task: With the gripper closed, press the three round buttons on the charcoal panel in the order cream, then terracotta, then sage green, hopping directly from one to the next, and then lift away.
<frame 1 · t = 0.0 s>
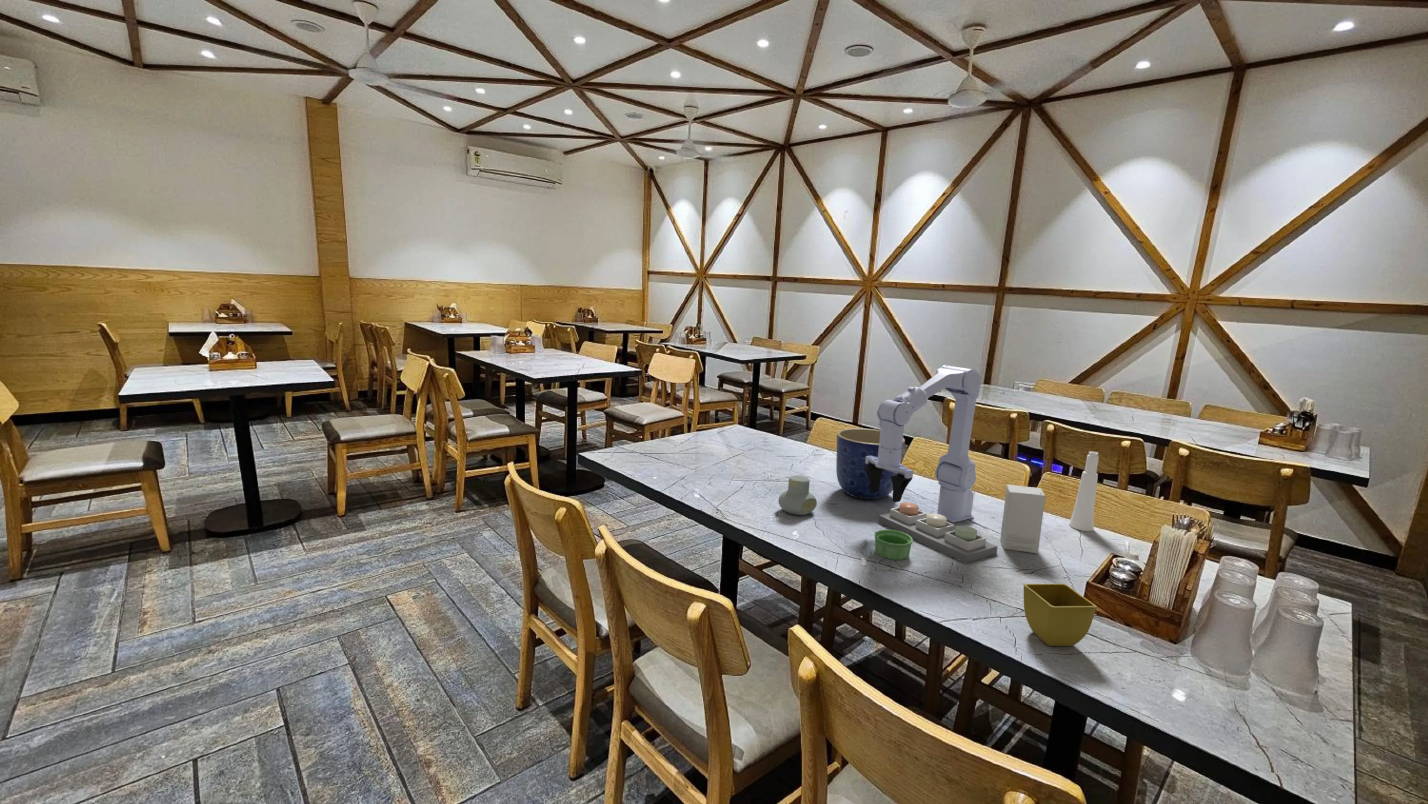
hand: (885, 496, 154), 10 cm above the table, tool pointing down, fingers open, 7 cm apart
cosmetic bottle: (1081, 527, 166), on the table
button panel: (933, 536, 154), on the table
ramekin: (891, 554, 144), on the table
flower pot: (1051, 639, 109), on the table
air freshener: (796, 512, 168), on the table
sage button: (965, 533, 146), point 4 cm above the table, slide at 0.0 cm
cream button: (935, 521, 154), point 4 cm above the table, slide at 0.0 cm
skincare box: (1017, 547, 150), on the table
planter: (864, 494, 186), on the table
terracotta button: (908, 509, 161), point 4 cm above the table, slide at 0.0 cm
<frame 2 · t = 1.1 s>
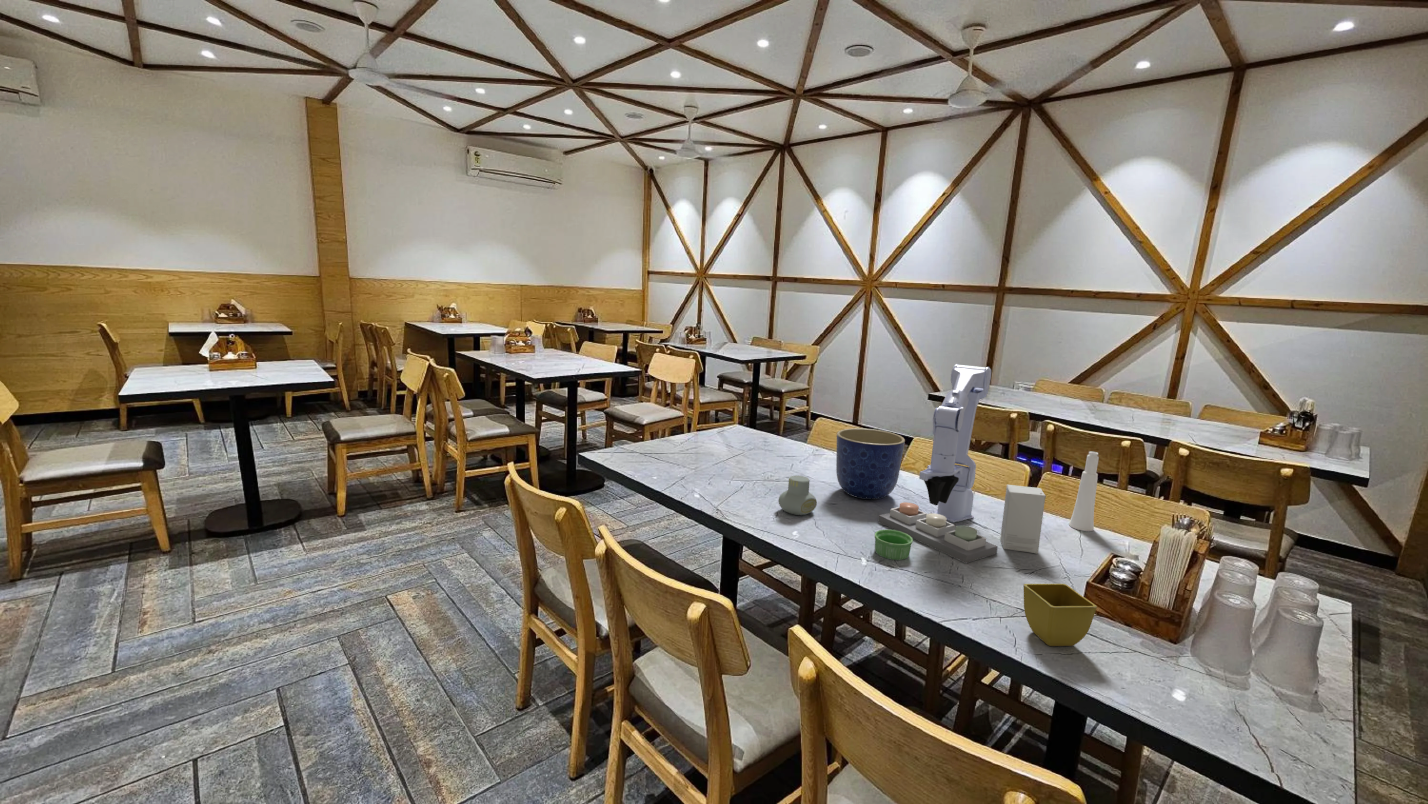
hand: (937, 503, 153), 9 cm above the table, tool pointing down, fingers open, 3 cm apart
nothing on the table moved.
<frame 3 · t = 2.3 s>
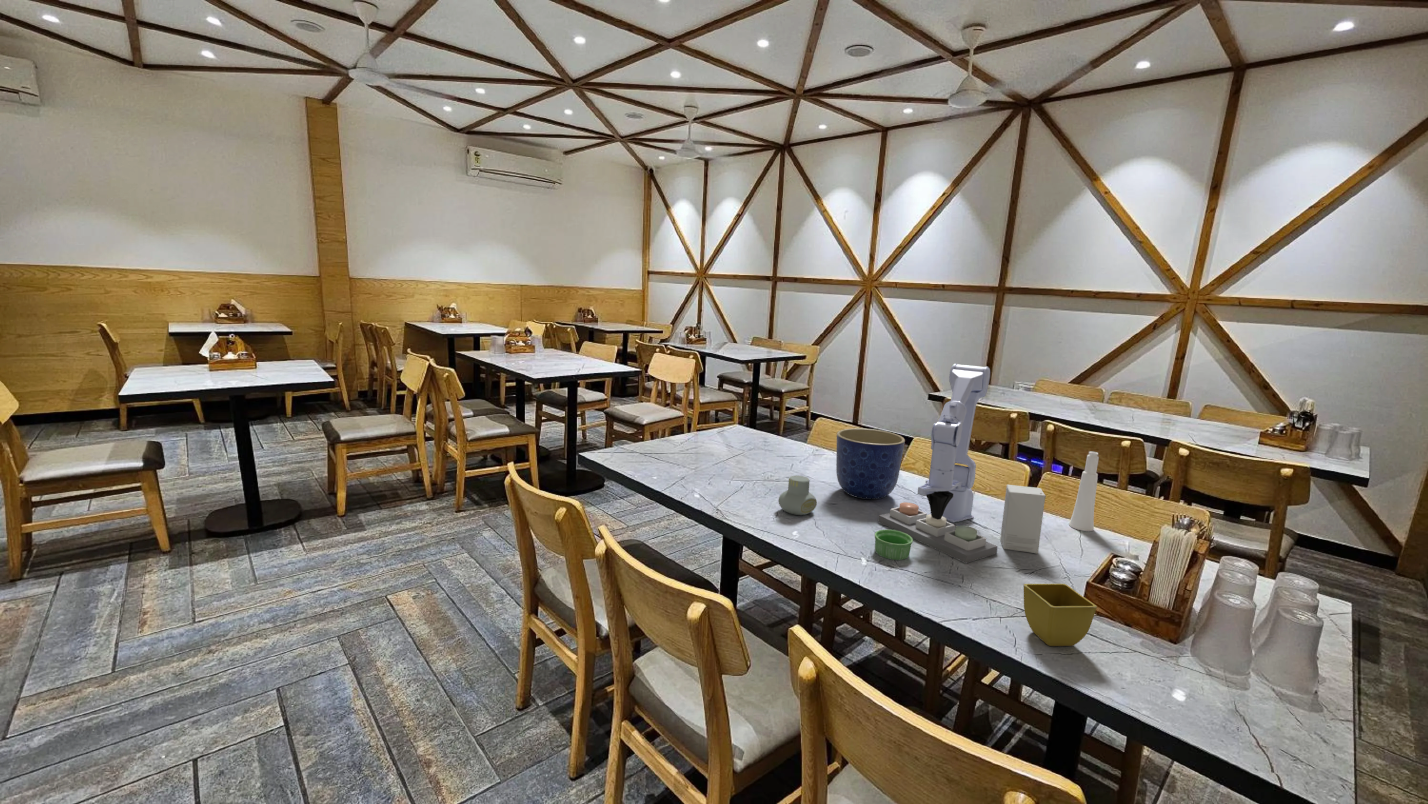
hand: (936, 517, 153), 5 cm above the table, tool pointing down, fingers closed, pressing on cream button
cream button: (935, 521, 154), point 4 cm above the table, slide at 0.2 cm, touching gripper
everything else where it was.
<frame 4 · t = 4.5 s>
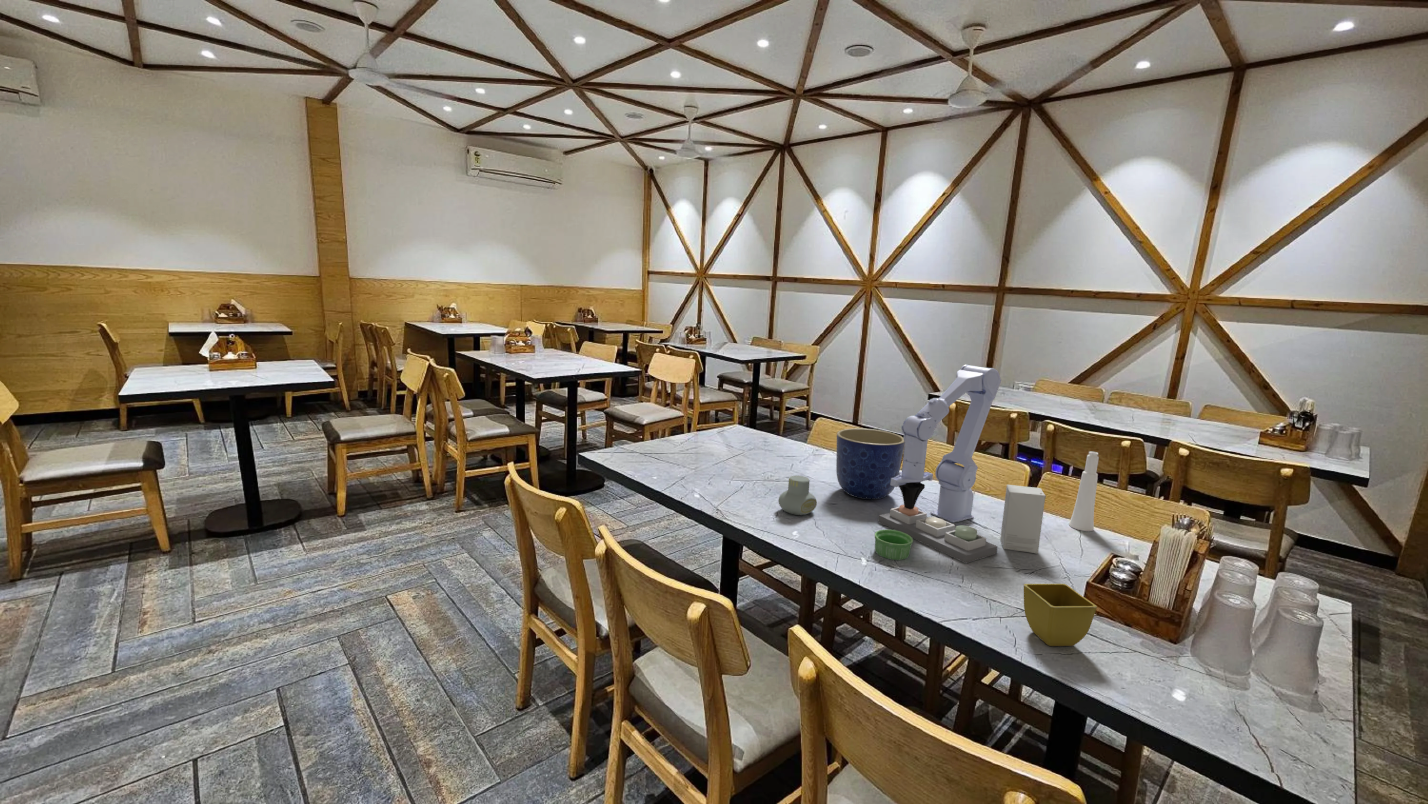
hand: (908, 507, 161), 5 cm above the table, tool pointing down, fingers closed, pressing on terracotta button
cream button: (935, 525, 154), point 3 cm above the table, slide at 1.1 cm
terracotta button: (908, 511, 161), point 4 cm above the table, slide at 0.6 cm, touching gripper
everything else where it was.
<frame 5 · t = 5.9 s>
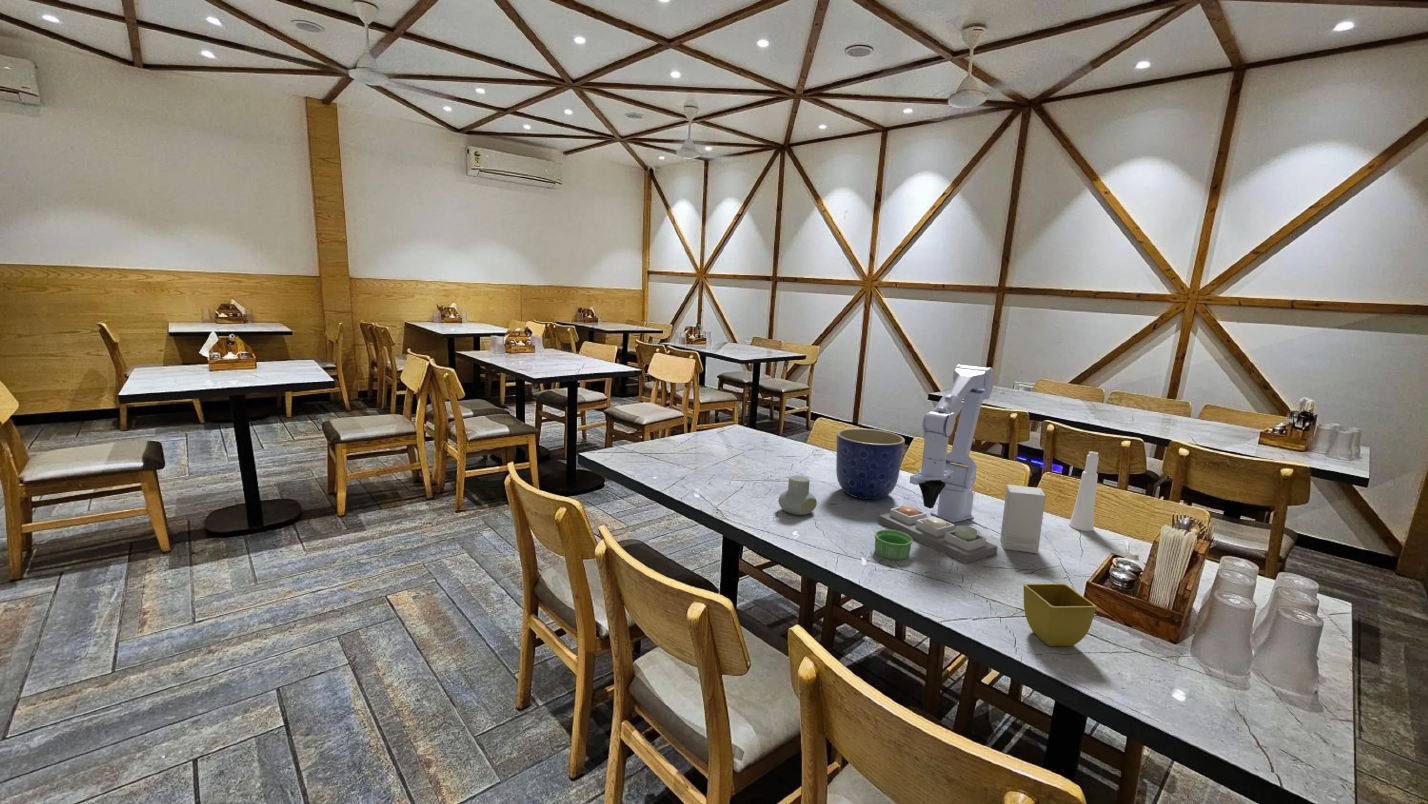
hand: (928, 506, 155), 7 cm above the table, tool pointing down, fingers closed
terracotta button: (908, 513, 161), point 3 cm above the table, slide at 1.1 cm
everything else where it was.
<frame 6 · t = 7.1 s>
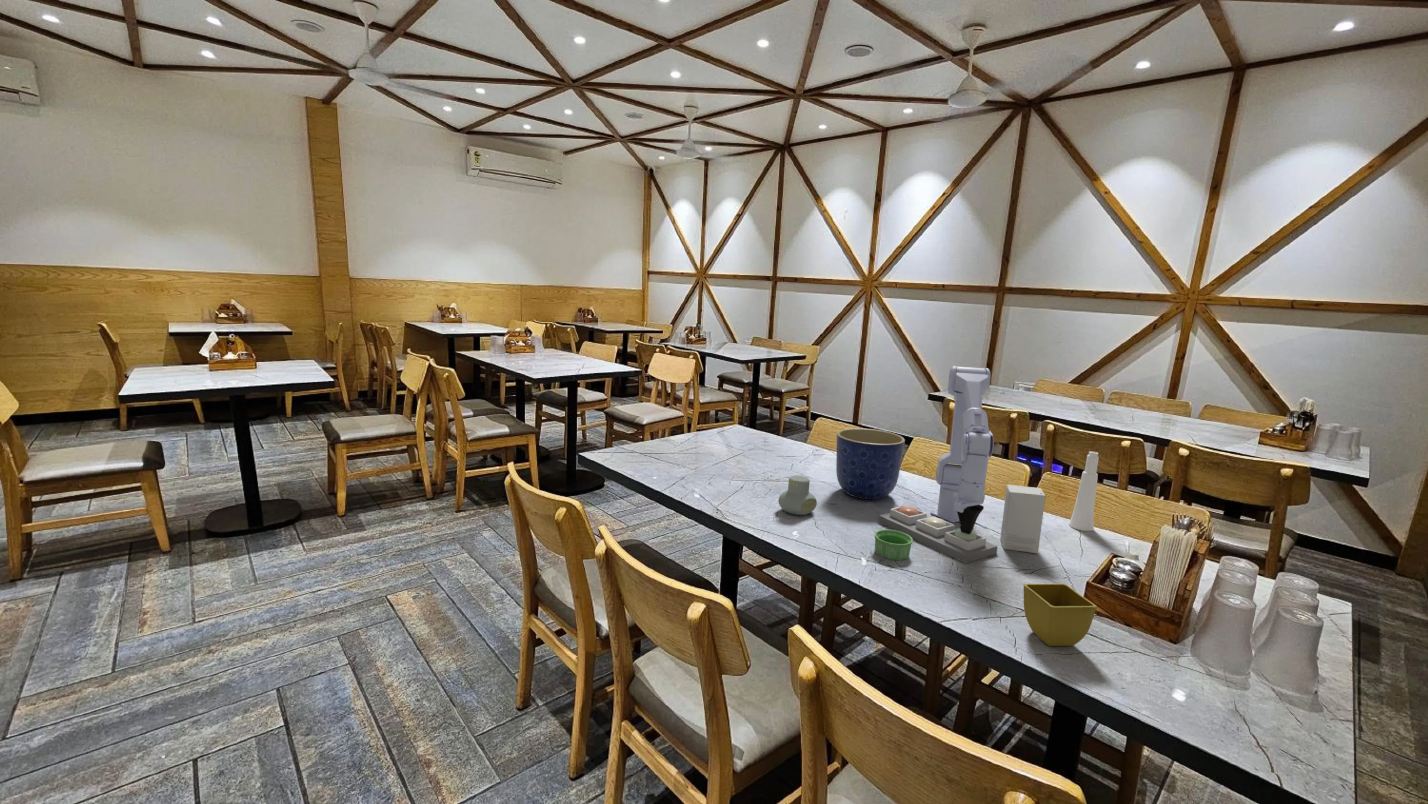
hand: (965, 532, 146), 5 cm above the table, tool pointing down, fingers closed, pressing on sage button
sage button: (965, 536, 146), point 4 cm above the table, slide at 0.8 cm, touching gripper
everything else where it was.
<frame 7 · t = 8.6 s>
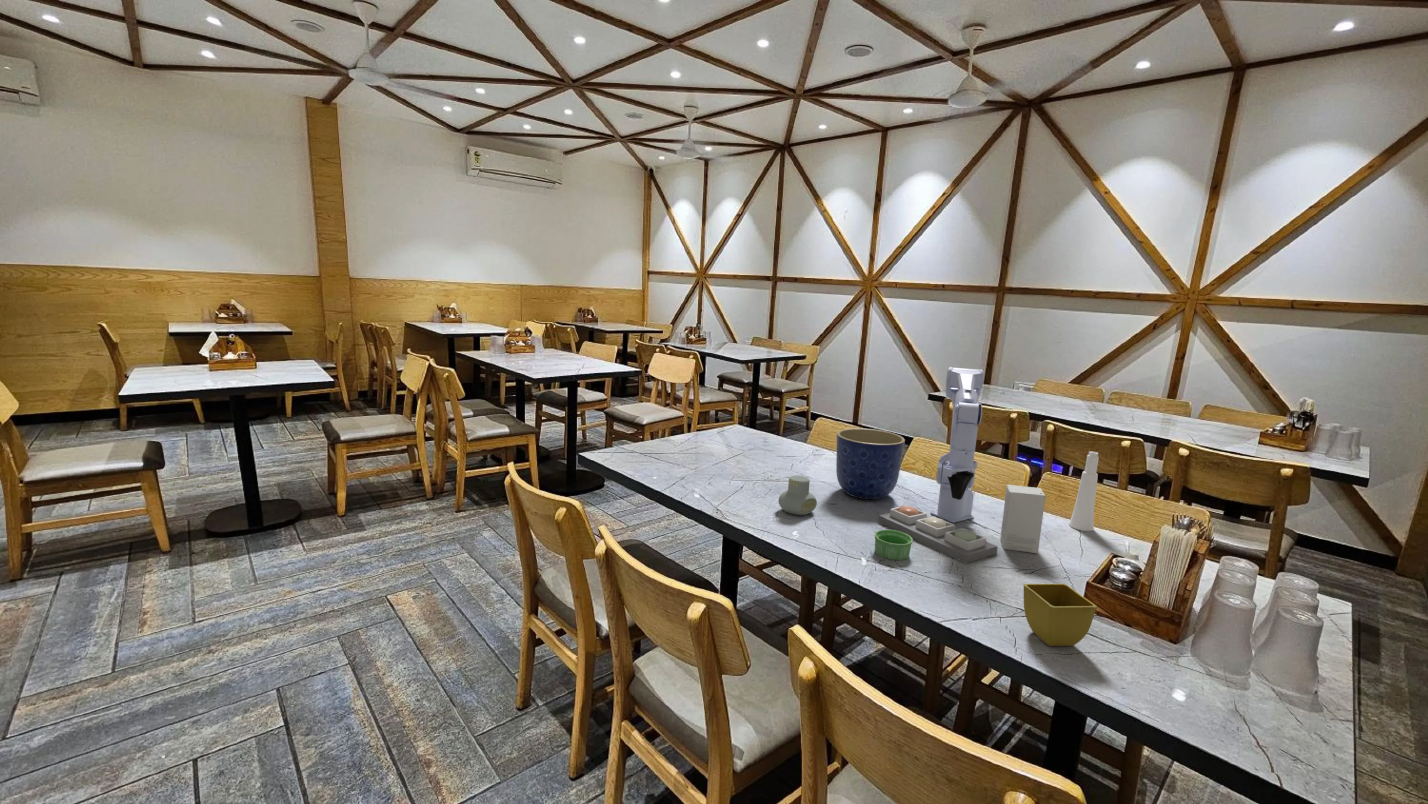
hand: (956, 498, 154), 10 cm above the table, tool pointing down, fingers closed
sage button: (965, 537, 146), point 3 cm above the table, slide at 1.1 cm
everything else where it was.
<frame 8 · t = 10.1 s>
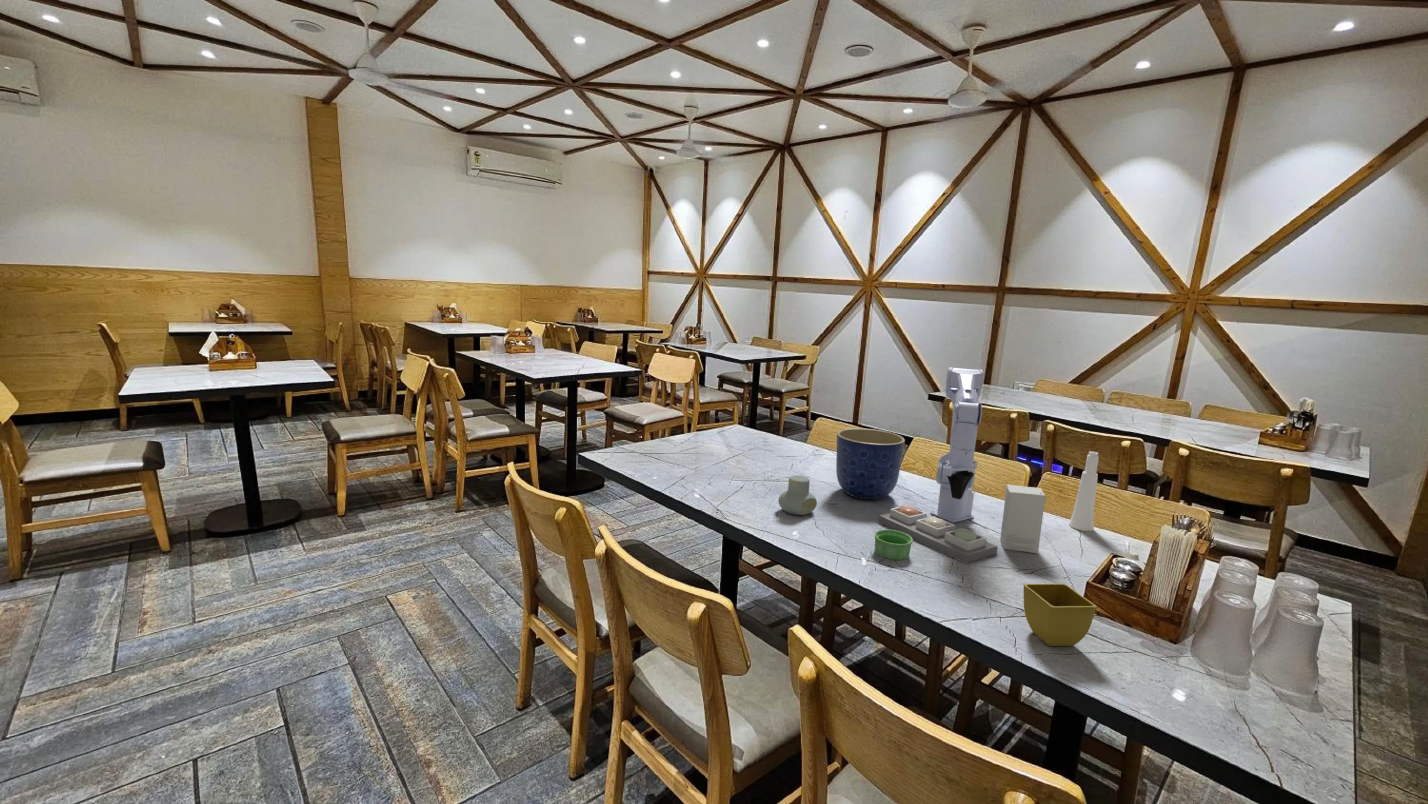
hand: (956, 497, 154), 10 cm above the table, tool pointing down, fingers closed
nothing on the table moved.
at the end: cream button slide at 1.1 cm; terracotta button slide at 1.1 cm; sage button slide at 1.1 cm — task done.
